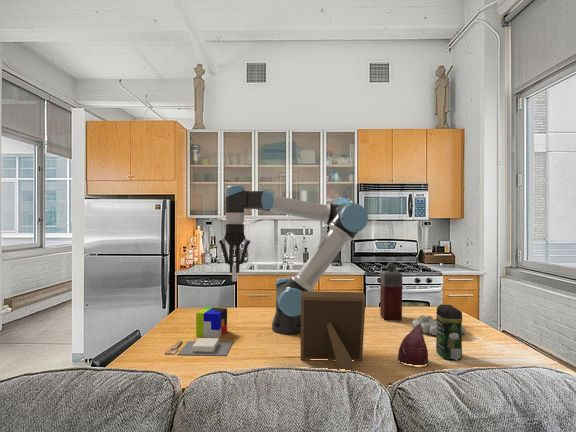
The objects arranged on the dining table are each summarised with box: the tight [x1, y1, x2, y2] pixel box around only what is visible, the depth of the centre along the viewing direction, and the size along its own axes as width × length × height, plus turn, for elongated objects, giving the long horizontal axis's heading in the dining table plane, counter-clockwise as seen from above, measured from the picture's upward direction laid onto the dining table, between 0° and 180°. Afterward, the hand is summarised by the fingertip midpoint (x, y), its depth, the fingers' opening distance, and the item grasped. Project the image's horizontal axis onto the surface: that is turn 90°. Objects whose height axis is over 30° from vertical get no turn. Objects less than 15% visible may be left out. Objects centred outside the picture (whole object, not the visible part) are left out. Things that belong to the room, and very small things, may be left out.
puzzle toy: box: [195, 306, 228, 339], centre depth 161 cm, size 10×10×10 cm
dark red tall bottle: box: [379, 262, 403, 321], centre depth 187 cm, size 9×11×28 cm
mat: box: [176, 340, 234, 357], centre depth 143 cm, size 18×14×1 cm
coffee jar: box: [435, 304, 463, 360], centre depth 137 cm, size 10×8×19 cm
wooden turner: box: [164, 340, 183, 356], centre depth 143 cm, size 4×12×1 cm, turn 178°
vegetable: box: [397, 324, 429, 365], centre depth 132 cm, size 10×10×15 cm
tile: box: [192, 337, 220, 352], centre depth 143 cm, size 2×9×8 cm
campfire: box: [411, 315, 467, 336], centre depth 166 cm, size 22×21×6 cm
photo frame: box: [300, 291, 367, 370], centre depth 128 cm, size 15×22×25 cm
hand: (234, 280), depth 152 cm, fingers closed
